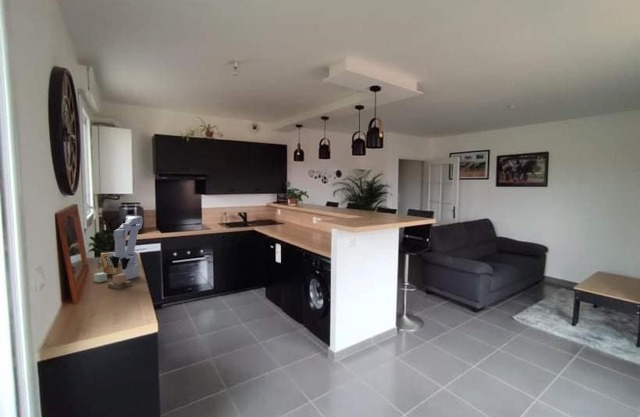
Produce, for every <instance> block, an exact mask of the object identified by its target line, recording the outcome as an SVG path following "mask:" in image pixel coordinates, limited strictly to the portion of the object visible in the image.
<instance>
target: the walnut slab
mask: <svg viewBox="0 0 640 417" xmlns="http://www.w3.org/2000/svg"><path fill="white" fill-rule="evenodd" d="M131 286H133V281H131V280H126V282H124V283H121V284H115V283H113V281H112V282H108V283H107V288H110V289H115V290H121V289H124V288H127V287H131Z"/></svg>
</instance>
